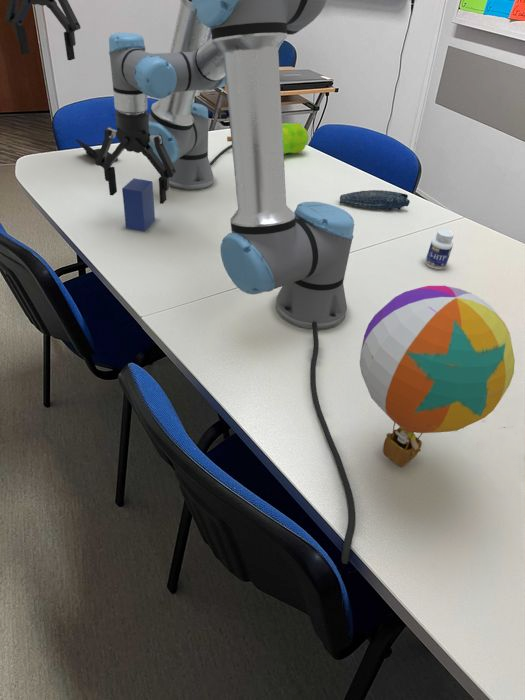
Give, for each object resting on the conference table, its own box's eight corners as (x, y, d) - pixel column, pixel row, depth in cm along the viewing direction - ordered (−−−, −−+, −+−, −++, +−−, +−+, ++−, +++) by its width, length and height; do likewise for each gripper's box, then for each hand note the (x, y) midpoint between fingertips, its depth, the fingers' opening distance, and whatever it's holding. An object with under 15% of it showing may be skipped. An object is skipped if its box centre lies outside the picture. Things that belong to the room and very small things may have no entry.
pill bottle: (423, 266, 132) (433, 234, 126) (426, 257, 136) (435, 226, 130) (444, 271, 131) (455, 239, 125) (446, 262, 135) (457, 230, 129)
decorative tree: (224, 117, 189) (303, 117, 195) (224, 146, 196) (301, 145, 201) (231, 131, 176) (316, 130, 181) (230, 162, 182) (313, 160, 188)
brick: (155, 220, 142) (152, 181, 135) (144, 231, 136) (141, 191, 129) (137, 217, 142) (133, 178, 135) (125, 228, 136) (121, 188, 130)
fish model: (408, 214, 157) (412, 198, 153) (339, 207, 158) (341, 191, 154) (406, 206, 162) (410, 190, 159) (339, 199, 163) (341, 183, 160)
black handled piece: (122, 153, 174) (102, 132, 166) (111, 171, 173) (90, 150, 165) (101, 149, 181) (81, 128, 172) (90, 166, 179) (69, 146, 171)
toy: (310, 447, 82) (343, 285, 63) (387, 396, 93) (435, 245, 74) (411, 535, 71) (486, 371, 52) (485, 466, 82) (569, 309, 63)
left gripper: (86, -36, 131) (96, 59, 144) (-5, -45, 134) (14, 48, 147) (71, -35, 125) (84, 64, 139) (-23, -45, 128) (-2, 53, 141)
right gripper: (187, 113, 123) (188, 199, 136) (88, 99, 125) (99, 184, 139) (177, 122, 117) (179, 211, 130) (73, 107, 120) (86, 195, 133)
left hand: (48, 56), depth 143 cm, fingers open, 13 cm apart
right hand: (138, 197), depth 134 cm, fingers open, 13 cm apart
